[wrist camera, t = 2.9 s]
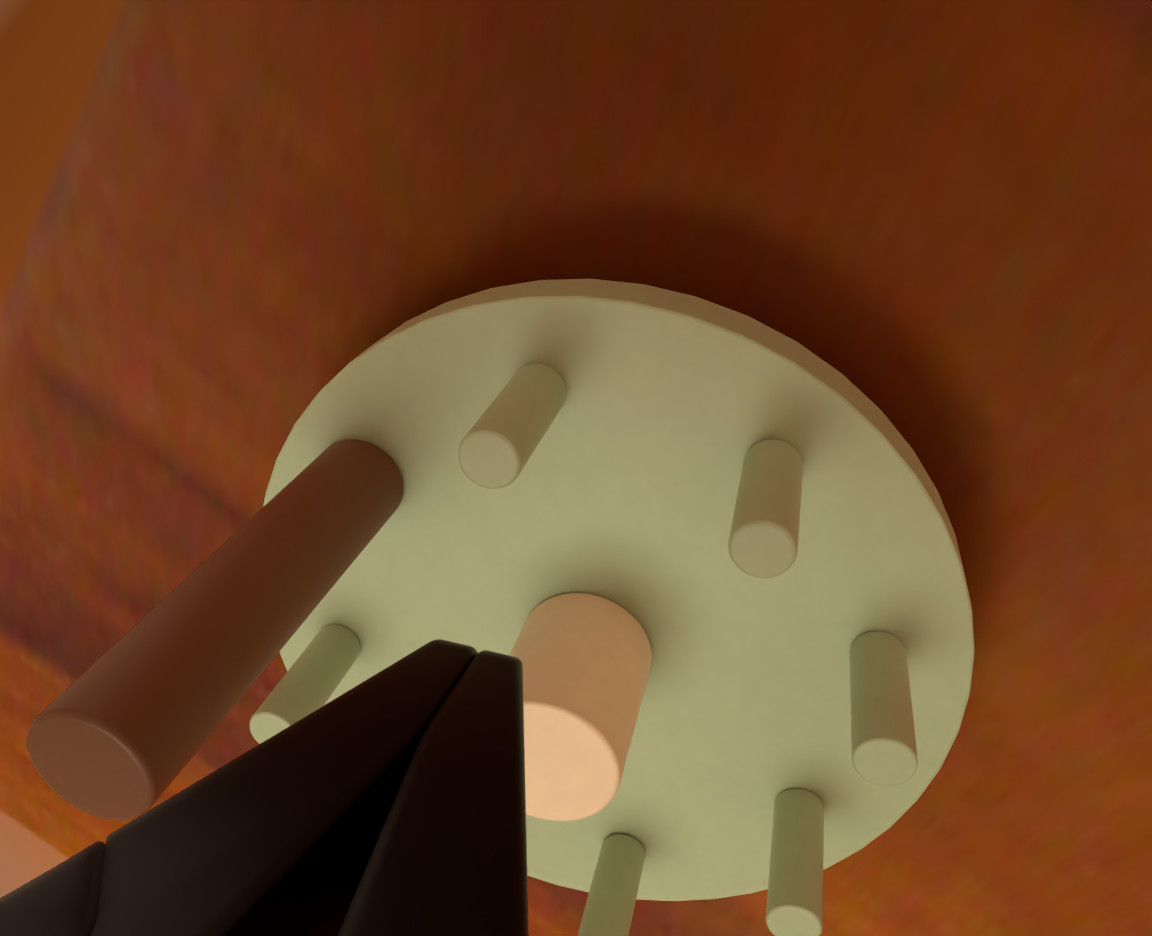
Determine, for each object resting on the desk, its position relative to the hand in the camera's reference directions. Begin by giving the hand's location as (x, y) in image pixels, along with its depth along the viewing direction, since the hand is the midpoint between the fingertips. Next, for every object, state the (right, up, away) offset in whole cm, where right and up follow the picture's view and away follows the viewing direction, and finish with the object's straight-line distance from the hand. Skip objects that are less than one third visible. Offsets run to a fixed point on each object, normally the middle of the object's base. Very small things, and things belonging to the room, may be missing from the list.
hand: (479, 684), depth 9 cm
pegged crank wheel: (+1, -1, +9) cm, 9 cm away
